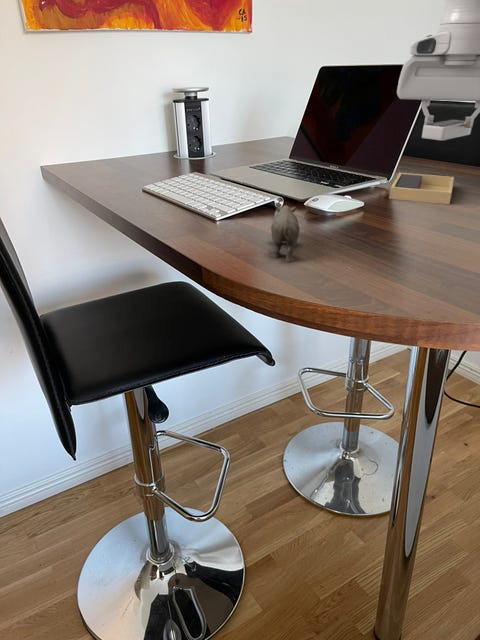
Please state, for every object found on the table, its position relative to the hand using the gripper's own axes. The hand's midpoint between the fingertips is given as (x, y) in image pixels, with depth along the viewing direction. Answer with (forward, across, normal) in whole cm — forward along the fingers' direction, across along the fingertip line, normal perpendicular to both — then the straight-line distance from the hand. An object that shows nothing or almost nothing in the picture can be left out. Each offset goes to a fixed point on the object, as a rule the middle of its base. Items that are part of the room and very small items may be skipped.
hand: (447, 126), depth 95 cm
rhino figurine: (+13, +20, +39) cm, 46 cm away
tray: (+13, +3, 0) cm, 13 cm away
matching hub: (+13, +5, 0) cm, 14 cm away
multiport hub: (+2, 0, 0) cm, 2 cm away
